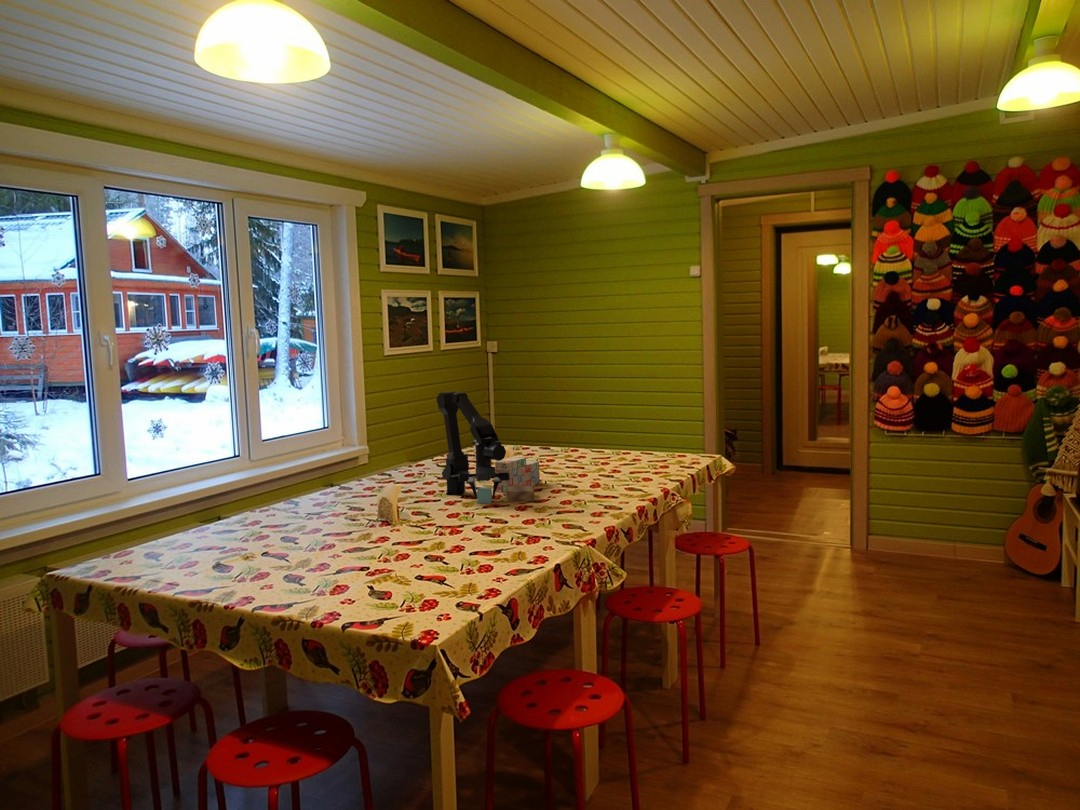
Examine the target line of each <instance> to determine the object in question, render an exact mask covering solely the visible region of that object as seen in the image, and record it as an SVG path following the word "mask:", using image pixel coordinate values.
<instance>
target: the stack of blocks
mask: <svg viewBox="0 0 1080 810" xmlns="http://www.w3.org/2000/svg"><path fill="white" fill-rule="evenodd" d="M494 462H495V463H494V464H495V466H494V467H495V473H499V471H502V470H508V471H509V472H510V480H507V481H502V483H499V484H498V487H497V489H496V492H495V493H500V494H501V493H502V494H503V493H504V494H506V486H536V484H537V485H539V484H540V481H541V479H540V462H539V461H536V460H527V457H522V456H511V457H507V458H504V459H502V460H500V461H497V460H495V461H494Z"/></svg>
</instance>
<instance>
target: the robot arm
mask: <svg viewBox="0 0 1080 810" xmlns="http://www.w3.org/2000/svg"><path fill="white" fill-rule="evenodd" d="M436 403H437V406H438V410H439V411H440V413H441V414H442V415H443V420H444V428H445V433H446V440H447V448H448V454H447V456H446V459H445V466H444V469H442V472H441V477H442V479H444V480H446V495H451V496H452V495H453V496H454V495H464V493H465V492H466V484H467V485H469V486H470V488H471V490H472V494H473V496H474V499H475V500H478V495H477V485H476V481H477V482H482V481H485V482H489V481H490V480H491V479H493V486H492V487H493V488H492V500H494V498H495V496H496V493H497V492H496V489H497V487H498V484H499V483H502V481H507V480H510V472H509V471H508V470H502V471H499V473H495V466H492V465H493V464H492V460H494V461H500V460H503V459H505V457H506V454H507V450H506V448H505V446H504V445H502V441H500V440H499V436H498V435H497V432H496V431H495V428H494V425H492V423H491V422H490V421H489V420H488V419H486V418H485V417H483V416H481V414H480V413H479V412H478V411H477V409H476V407H475V406H474V404H473V403H472V402H471V400H470V399H469V398H468V394H467V392H464V391H463V392H462V391H461V392H457V391H453V390H452V391H443V392H439V393H438V395H437V396H436ZM458 411H460V412H461V413H462V415H463V416H464V418H465V419H466V421H467V422H468V424H469V430H470V433H471V435H472V437H473V439H474V440H473V441H472V445H474V446H475V448H474V449H475V473H471V472H470V471H469V469H470V462H469V456H468V454H465V453H464V451H463V450H462V449H463V448H462V444H461V443H462V442H461V436H460V430H459V422H458Z"/></svg>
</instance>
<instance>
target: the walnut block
mask: <svg viewBox="0 0 1080 810" xmlns="http://www.w3.org/2000/svg"><path fill="white" fill-rule="evenodd" d="M533 486H534V485H533ZM533 486H506V493H505V494H506V495H505V496H506V502H507V503H514V502H516V503H517V502H535V490H534V487H533Z"/></svg>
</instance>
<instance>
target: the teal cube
mask: <svg viewBox="0 0 1080 810" xmlns="http://www.w3.org/2000/svg"><path fill="white" fill-rule="evenodd" d="M492 487H493V486H487V487H486V486H484V487H477V489H476V491H477V504H479V505H480V503H481V504H492V502H493V496H492V495H493V488H492Z"/></svg>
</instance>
